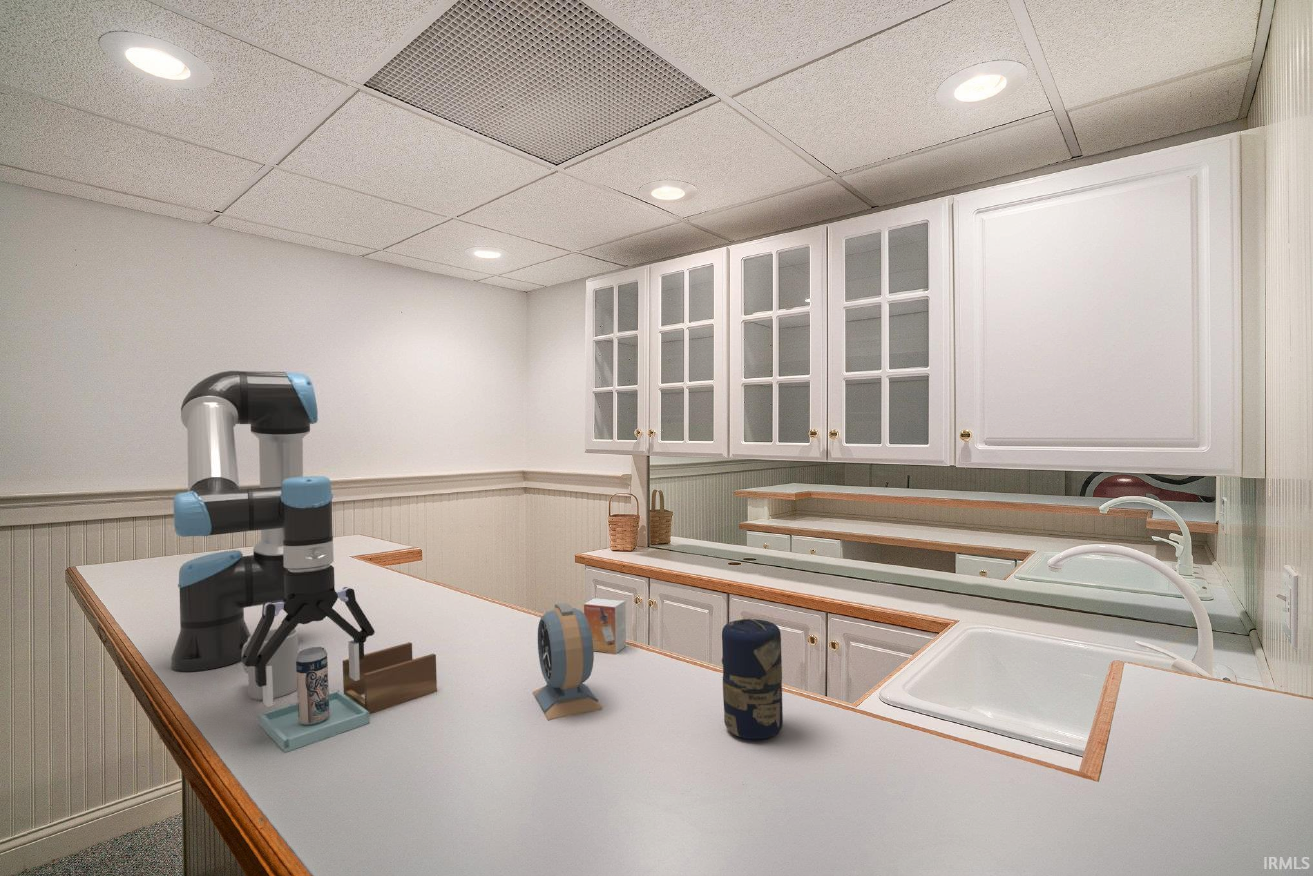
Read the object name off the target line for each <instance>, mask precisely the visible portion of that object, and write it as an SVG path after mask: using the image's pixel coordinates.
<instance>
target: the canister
mask: <svg viewBox="0 0 1313 876" xmlns="http://www.w3.org/2000/svg"><path fill="white" fill-rule="evenodd" d="M721 643H722V647H721V648H722V651H721V652H722V657H721V664H722V696H723V711H724V713H723V714H724V715H723V720H724V725H725V727H726V729H727V730H728V731H729V733H731V734H733V735H734V736H737V737H739V738H743V739H748V740H762V739H768V738H772V737H774V736H775V735H777V734H779V732H780V731H781V729H782V728H783V724H784V719H783V718H784V715H783V666H782V665H783V664H782V663H783V660H782V634H781V630H780V628H779V626H778V625H776V624H775V623H774V622H770V621H768V620H763V619H754V618H753V619H752V618H742V619H737V620H736V619H735V620H732V621H730V622H727V623H726V624H725V625H724V626H723V627H722V630H721Z"/></svg>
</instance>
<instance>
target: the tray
mask: <svg viewBox="0 0 1313 876" xmlns="http://www.w3.org/2000/svg"><path fill="white" fill-rule="evenodd" d="M329 712H330V715H329V717H328V718H326V719H325V720H324V721H322V722H320V723H318V724H314V725H304V724H301V723H299V722H298V702H296V703H293V704H289V705H286V706H282V707H279V708H276V709H273V710H269V711H266V712H262V713H260V714H258V725H259V726H260V728H262V730H263V731H264V732H265V733H266V735H268V736H269V737H270V738H271V740H273V741H274V742H275V744H276V745H277V746H278V747H279V748H280V749H281V750H282V751H283V752H284V753H288V752H291V751H293V750H296V749H298V748H302V747H304V746H308V745H310V744H314V743H317V742H318V741H322V740H325V739H327V738H330V737H334V736H336V735H340V734H342V733H344V732H348V731H350V730H354V729H356V728H359V727H362V726H364V725H368V724H370V723H371V720H370V719H371V718H370V717H371V716H370V712H368V711H367V710H366V709H364V708H363V707H361V706H360V705H359V704H357V703H356V702H354V701H353V700H352V699H350V698H349V697H347V696H346V695H345V694H344V692H342V691H340V690H335V691H332V692H330V693H329Z"/></svg>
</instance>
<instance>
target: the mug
mask: <svg viewBox="0 0 1313 876" xmlns="http://www.w3.org/2000/svg"><path fill="white" fill-rule="evenodd" d="M277 629H278V628H273V629H270V630H269V632H268V634H267V636H266V638H265V640H264V642H263V644H262V646H261V649H260V651H261V650H262V649H263V647H264V646H265V645H266V643H267V642H268V641H269V639H270V638H271V637H272V635H273V634H274V633H275V631H276V630H277ZM251 638H252V635H251V636H250V637H249V638H248V640H247V642H246V643H245V644H244V645H243V648H242V656H243V654H244V652H245V650H246V648H247V646H248V644H249V642H250V640H251ZM260 651H259V652H260ZM299 652H300V651H299V632H298V630H297V629H296V628H295V629H293V630H292V631H291V632H290V634H289V635H288V636H287V638H286V639H285V640H284V642H283V643H282V644H281V646H280V647H279V648H278V650H277V651H276V652H275V654H274V655H273V656H272V658H271V659H270V660H269V662H268V663H269V664H270V665H272V681H273V699H277V698H280V697H283V696H284V697H285V696H287V695H289V694H292V693H294V692H295V691H297V673H296V658H297V656H298V654H299ZM258 654H259V653H258ZM241 664H242V668H243V670H244V672H245V673H246V674H248V678H247V679H248V697H249V698H250V699H253V700H259V701H261V700H262V701H263V686H262V687H259V686H258V685H257V684H256V682H255V667H254V666H250V667H247V666H245V665H244V664H243V663H242V662H241Z"/></svg>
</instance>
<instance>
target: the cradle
mask: <svg viewBox="0 0 1313 876" xmlns="http://www.w3.org/2000/svg"><path fill="white" fill-rule="evenodd" d="M359 673H360V680H357V681H355V680H353V679H352V678H350V677H349V658H348V659H343V660H342V683H343V685H342V688H343V694H345V695H346V696H347V697H349V698H350V699H352V700H353V701H354V702H356V703H357V704H359V705H360V706H361V707H363V708H364V709H366V710H367V711H368V712H370V714H375V713H376V712H380V711H382V710H386V709H388V708H392V707H394V706H397V705H400V704H403V703H406V702H409V701H411V700H412V701H413V700H414V699H417V698H420V697H423V696H427V695H430V694H432V693H436V692H437V691H438V684H437V683H438V682H437V681H438V680H437V654H436V653H431V654H428V655H424V656H421V657H417V658H413V643H412V642H405V643H402V644H398V645H394V646H391V647H387V648H382V649H380V650H376V651H372V652H369V653H366V654H365V653H364V657H363V659H359ZM363 694H364V697H363V696H361V695H363Z"/></svg>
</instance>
